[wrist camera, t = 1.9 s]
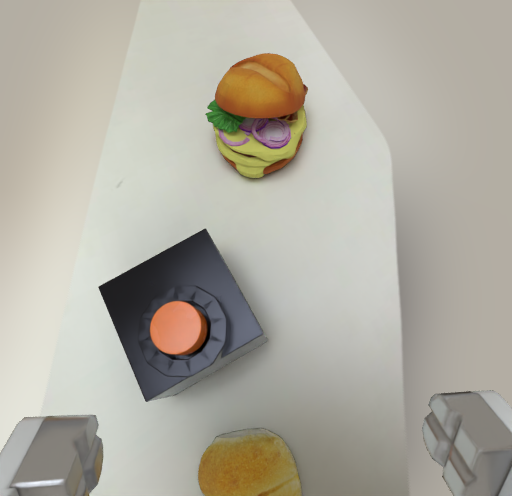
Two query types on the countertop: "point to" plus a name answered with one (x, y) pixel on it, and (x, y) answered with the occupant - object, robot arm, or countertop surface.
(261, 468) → the bread roll
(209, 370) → the black push button box
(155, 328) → the orange button cap
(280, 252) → the countertop surface
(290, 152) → the cheeseburger
